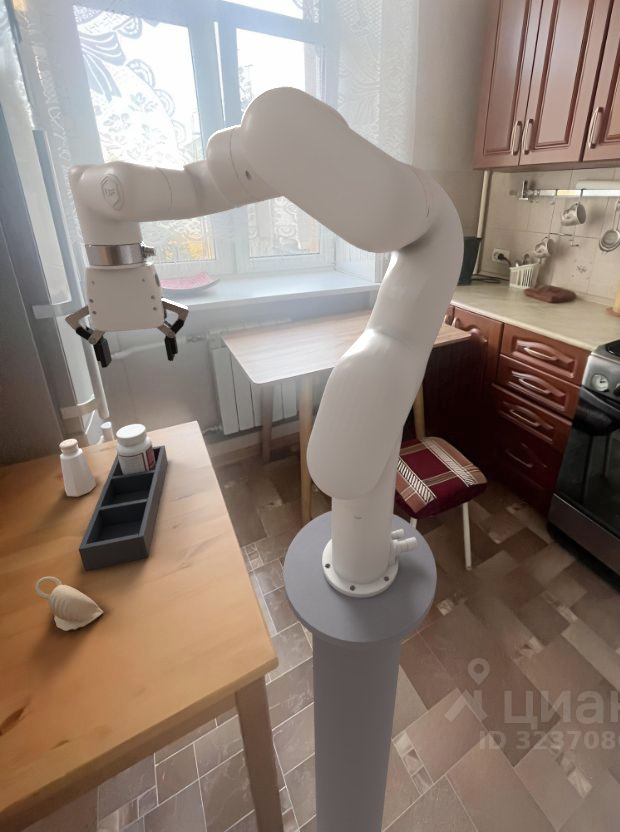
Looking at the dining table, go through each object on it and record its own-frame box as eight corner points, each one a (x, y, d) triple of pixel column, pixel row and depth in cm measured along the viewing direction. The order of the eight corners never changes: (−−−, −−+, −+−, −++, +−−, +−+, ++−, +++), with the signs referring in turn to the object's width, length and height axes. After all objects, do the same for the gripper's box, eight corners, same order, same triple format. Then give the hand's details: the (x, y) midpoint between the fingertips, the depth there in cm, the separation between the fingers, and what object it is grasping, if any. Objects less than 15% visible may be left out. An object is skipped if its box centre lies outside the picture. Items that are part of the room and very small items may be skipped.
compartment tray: (167, 462, 88) (164, 445, 86) (148, 557, 65) (143, 536, 63) (121, 469, 85) (117, 452, 83) (84, 570, 62) (78, 549, 61)
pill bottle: (146, 463, 86) (137, 419, 82) (163, 474, 83) (154, 428, 79) (118, 479, 81) (106, 432, 77) (134, 490, 78) (123, 443, 74)
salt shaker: (86, 476, 83) (73, 431, 79) (103, 483, 81) (91, 438, 77) (58, 492, 78) (44, 445, 74) (75, 500, 76) (61, 453, 72)
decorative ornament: (75, 640, 53) (65, 613, 51) (39, 612, 56) (28, 586, 54) (104, 613, 56) (96, 587, 54) (69, 588, 60) (60, 563, 58)
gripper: (182, 251, 64) (197, 348, 71) (59, 254, 60) (87, 358, 66) (177, 257, 58) (194, 364, 64) (38, 261, 53) (71, 376, 59)
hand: (140, 361), depth 65 cm, fingers open, 9 cm apart
